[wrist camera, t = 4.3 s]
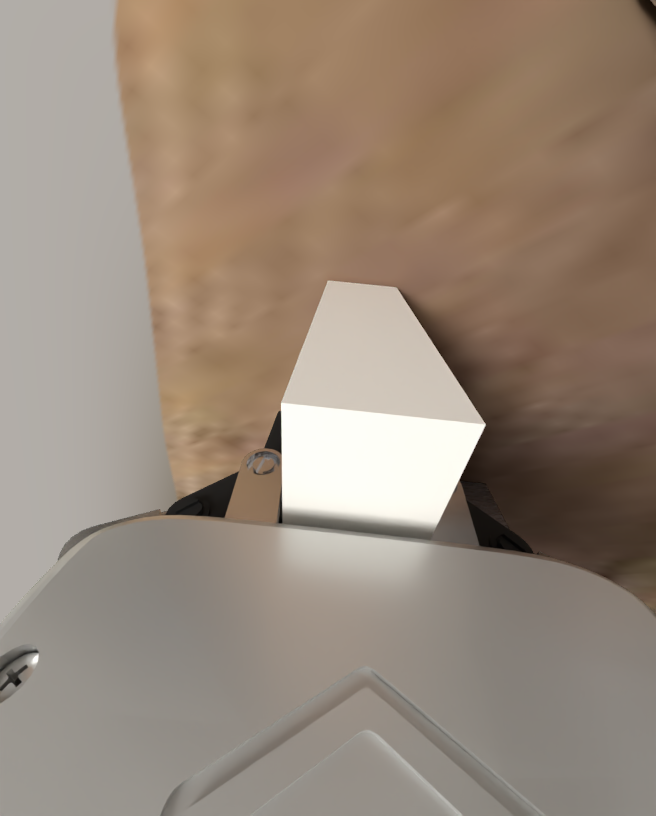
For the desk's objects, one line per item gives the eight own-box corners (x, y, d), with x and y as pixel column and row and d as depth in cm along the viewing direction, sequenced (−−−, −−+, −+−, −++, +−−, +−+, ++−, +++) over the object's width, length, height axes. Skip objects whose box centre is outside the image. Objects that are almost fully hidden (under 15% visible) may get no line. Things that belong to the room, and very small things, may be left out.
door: (328, 280, 13) (280, 403, 4) (396, 287, 12) (485, 425, 4) (314, 451, 18) (283, 649, 10) (362, 456, 18) (371, 660, 10)
